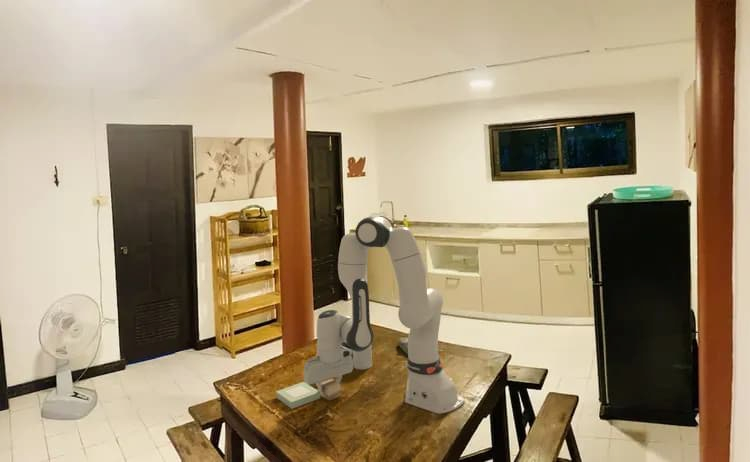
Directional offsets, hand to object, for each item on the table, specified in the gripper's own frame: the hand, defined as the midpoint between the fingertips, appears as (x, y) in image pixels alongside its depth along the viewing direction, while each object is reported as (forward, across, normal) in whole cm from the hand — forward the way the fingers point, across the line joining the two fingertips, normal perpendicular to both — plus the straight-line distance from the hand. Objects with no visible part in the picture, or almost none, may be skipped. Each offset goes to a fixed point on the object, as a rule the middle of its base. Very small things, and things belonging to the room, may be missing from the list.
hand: (329, 388), depth 184 cm
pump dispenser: (+2, +32, +29) cm, 43 cm away
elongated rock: (+1, +51, +6) cm, 51 cm away
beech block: (+2, 0, -1) cm, 3 cm away
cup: (+2, +26, +13) cm, 29 cm away
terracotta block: (+3, +4, +12) cm, 13 cm away
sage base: (+3, -10, +6) cm, 12 cm away
